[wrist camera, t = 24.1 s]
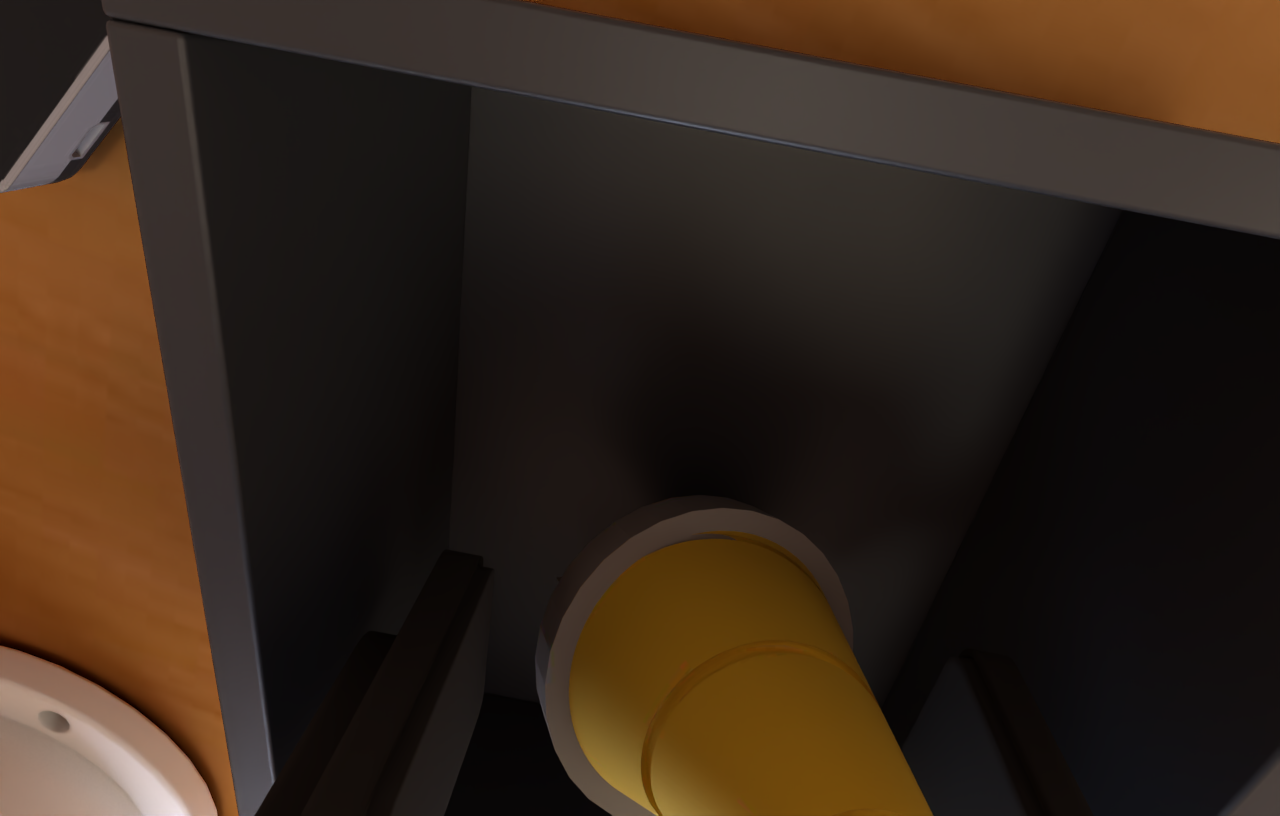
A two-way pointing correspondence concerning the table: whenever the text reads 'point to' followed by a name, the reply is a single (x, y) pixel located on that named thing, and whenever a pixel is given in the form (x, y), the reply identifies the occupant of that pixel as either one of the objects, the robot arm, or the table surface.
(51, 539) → the table surface
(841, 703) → the drill bit
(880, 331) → the outer bin
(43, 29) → the external hard drive
